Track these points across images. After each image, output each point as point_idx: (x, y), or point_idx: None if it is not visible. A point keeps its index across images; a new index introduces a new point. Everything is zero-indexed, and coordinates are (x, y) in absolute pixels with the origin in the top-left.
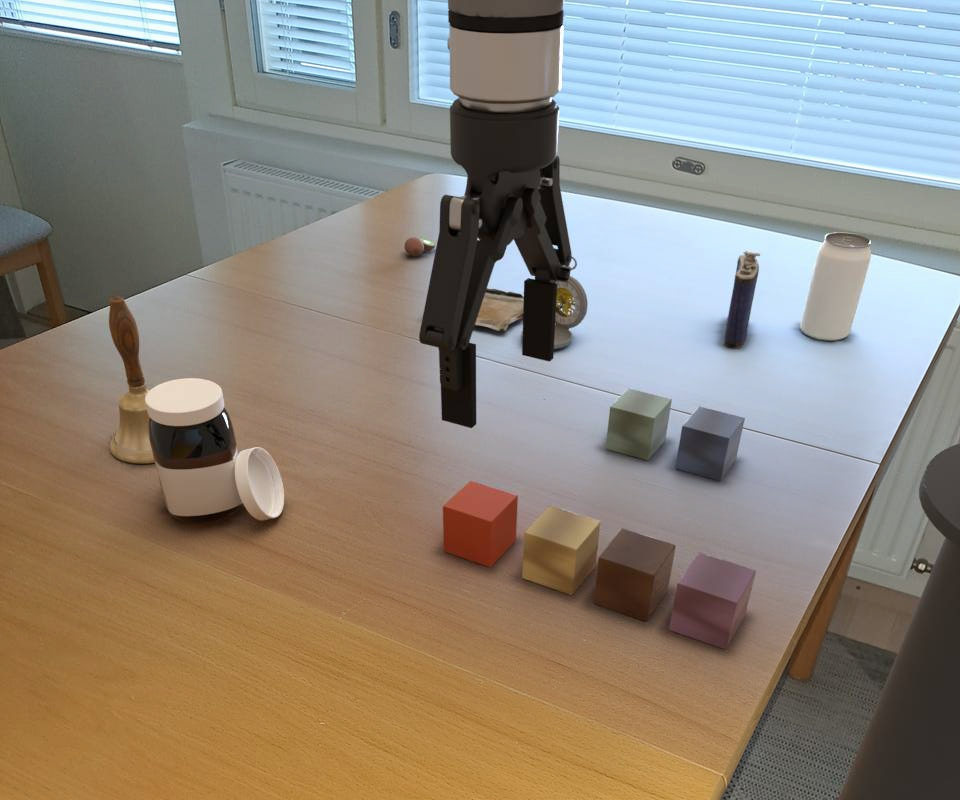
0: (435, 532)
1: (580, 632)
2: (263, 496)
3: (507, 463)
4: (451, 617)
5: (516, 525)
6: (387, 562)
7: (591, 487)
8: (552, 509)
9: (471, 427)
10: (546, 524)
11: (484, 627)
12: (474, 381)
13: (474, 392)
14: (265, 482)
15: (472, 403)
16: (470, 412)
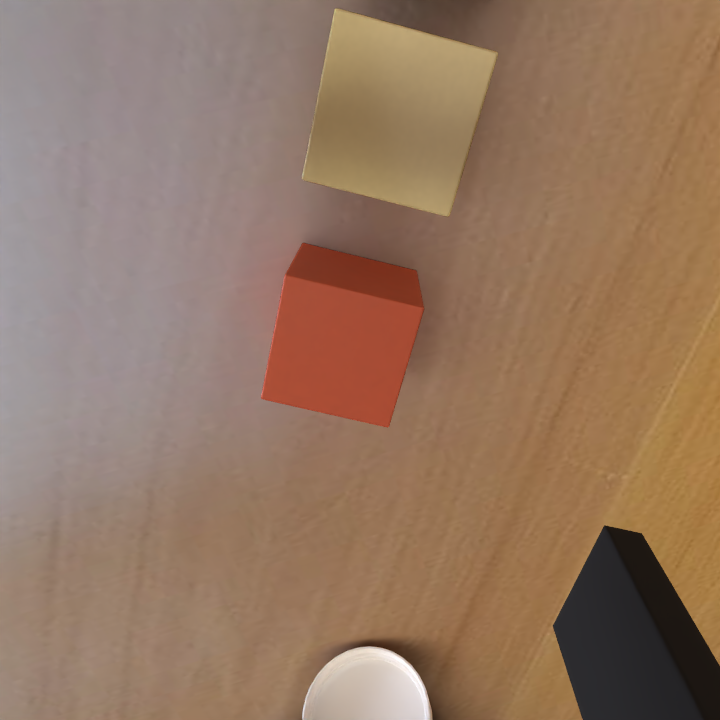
0: None
1: (606, 9)
2: (359, 689)
3: (14, 335)
4: (594, 300)
5: (299, 252)
6: (449, 455)
7: (9, 113)
8: (320, 168)
9: (643, 536)
10: (397, 167)
11: (617, 229)
12: (712, 710)
13: (688, 655)
14: (331, 704)
15: (684, 617)
16: (671, 589)
